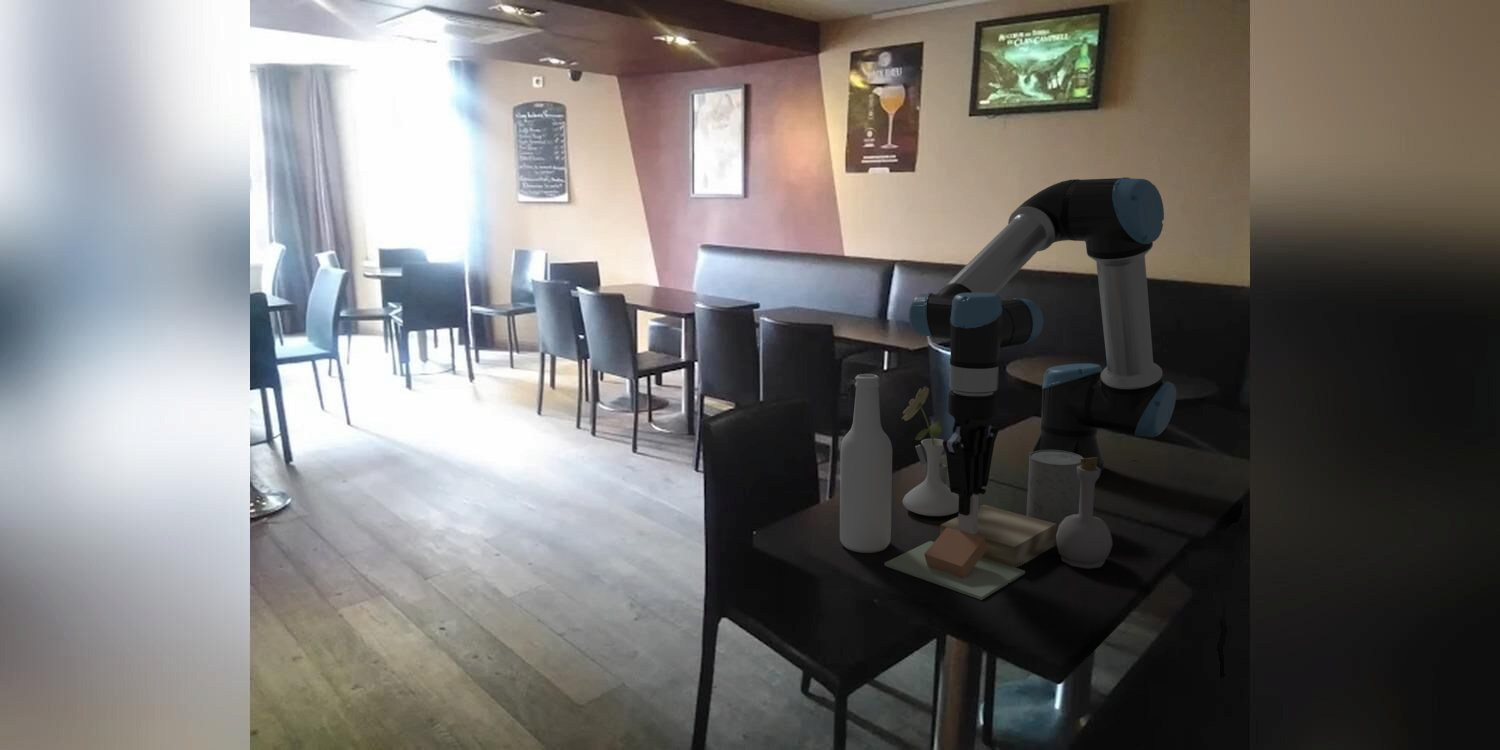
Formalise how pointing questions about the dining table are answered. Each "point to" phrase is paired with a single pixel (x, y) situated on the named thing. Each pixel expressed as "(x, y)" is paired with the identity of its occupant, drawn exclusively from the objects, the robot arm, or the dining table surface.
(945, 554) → the terracotta tile
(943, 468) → the lighter
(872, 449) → the alcohol
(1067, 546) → the potion bottle
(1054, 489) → the white cylinder
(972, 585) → the rubber mat
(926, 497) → the flower in vase
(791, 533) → the dining table surface
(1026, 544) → the birch board
